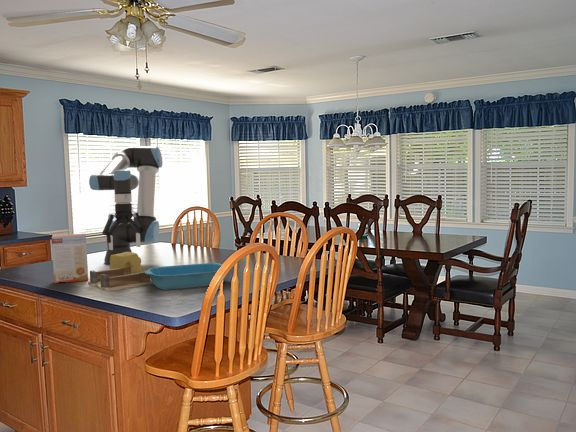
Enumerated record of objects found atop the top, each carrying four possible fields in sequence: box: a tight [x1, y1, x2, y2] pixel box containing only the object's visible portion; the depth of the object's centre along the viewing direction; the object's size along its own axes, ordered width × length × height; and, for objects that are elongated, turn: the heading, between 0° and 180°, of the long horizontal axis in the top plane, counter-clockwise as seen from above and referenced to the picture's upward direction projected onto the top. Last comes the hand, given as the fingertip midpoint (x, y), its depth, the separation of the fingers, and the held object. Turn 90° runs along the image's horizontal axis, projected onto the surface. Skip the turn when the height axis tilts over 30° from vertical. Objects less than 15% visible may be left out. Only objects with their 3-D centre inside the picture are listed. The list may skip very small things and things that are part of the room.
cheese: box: [109, 251, 143, 274], centre depth 244 cm, size 10×11×10 cm
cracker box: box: [51, 233, 89, 284], centre depth 230 cm, size 14×6×21 cm, turn 110°
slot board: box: [87, 266, 154, 292], centre depth 227 cm, size 20×28×6 cm
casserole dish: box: [144, 262, 228, 291], centre depth 222 cm, size 37×22×7 cm, turn 115°
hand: (124, 248), depth 243 cm, fingers open, 13 cm apart
